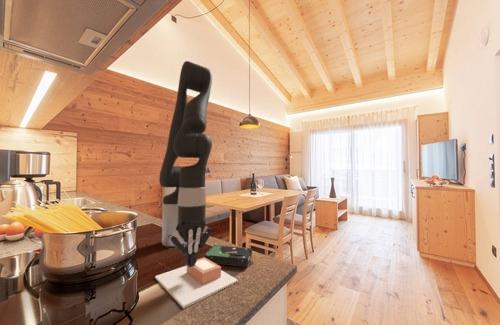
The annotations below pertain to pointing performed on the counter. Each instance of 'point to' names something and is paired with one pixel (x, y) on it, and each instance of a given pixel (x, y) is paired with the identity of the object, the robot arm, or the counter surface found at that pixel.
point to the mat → (191, 286)
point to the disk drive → (229, 255)
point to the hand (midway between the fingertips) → (190, 265)
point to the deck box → (204, 270)
